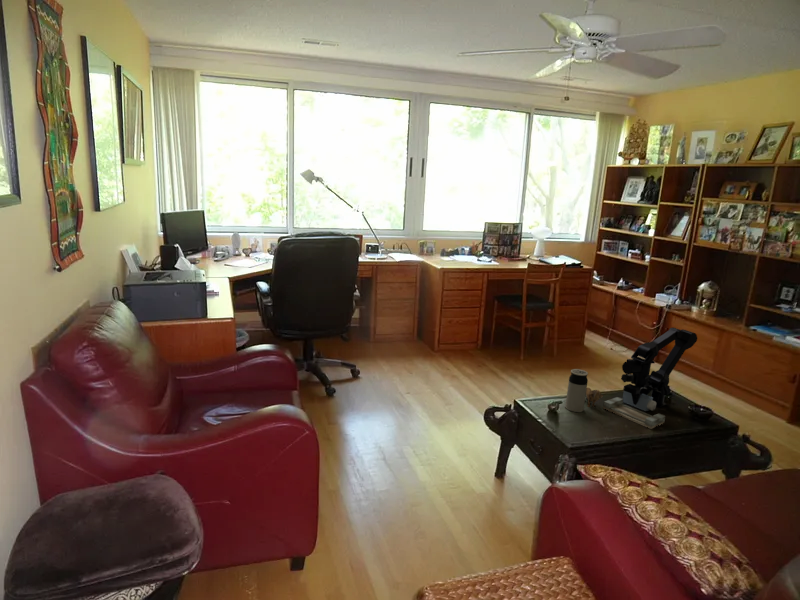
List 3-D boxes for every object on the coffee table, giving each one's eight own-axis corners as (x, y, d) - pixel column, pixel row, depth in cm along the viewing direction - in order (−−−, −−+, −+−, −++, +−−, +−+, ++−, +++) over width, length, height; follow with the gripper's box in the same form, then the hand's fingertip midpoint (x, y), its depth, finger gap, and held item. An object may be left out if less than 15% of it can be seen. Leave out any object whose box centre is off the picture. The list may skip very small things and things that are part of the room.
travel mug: (584, 413, 228) (590, 376, 224) (566, 411, 229) (571, 373, 225) (582, 406, 235) (587, 369, 231) (564, 404, 237) (569, 367, 233)
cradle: (616, 403, 241) (617, 396, 240) (664, 423, 222) (665, 416, 222) (602, 408, 234) (603, 401, 234) (650, 429, 216) (652, 421, 215)
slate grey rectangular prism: (627, 399, 245) (629, 388, 244) (655, 411, 234) (657, 398, 233) (622, 401, 243) (623, 390, 242) (650, 413, 232) (652, 400, 230)
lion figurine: (602, 410, 233) (605, 391, 231) (591, 410, 232) (594, 392, 230) (585, 397, 247) (588, 379, 245) (575, 397, 246) (578, 379, 244)
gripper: (637, 363, 247) (632, 393, 250) (615, 369, 236) (610, 400, 240) (659, 371, 238) (654, 401, 242) (637, 377, 228) (632, 409, 231)
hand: (637, 403), depth 239 cm, fingers closed on slate grey rectangular prism, 4 cm apart
